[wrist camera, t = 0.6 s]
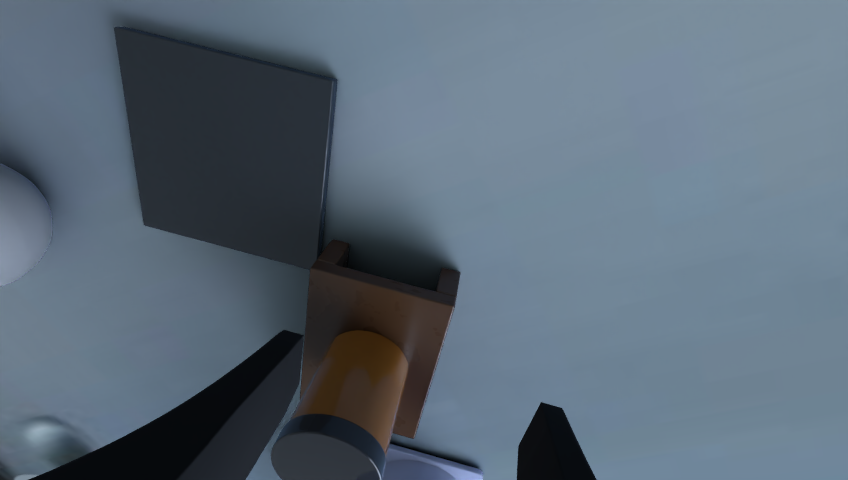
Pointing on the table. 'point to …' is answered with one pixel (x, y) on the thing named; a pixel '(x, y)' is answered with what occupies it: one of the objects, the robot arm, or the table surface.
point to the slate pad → (228, 146)
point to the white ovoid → (21, 225)
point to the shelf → (379, 322)
